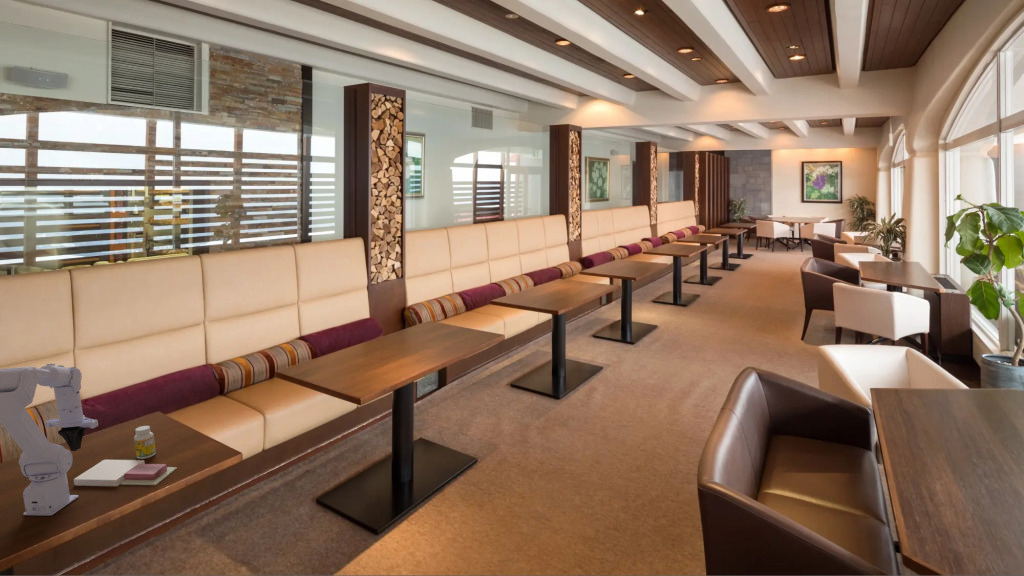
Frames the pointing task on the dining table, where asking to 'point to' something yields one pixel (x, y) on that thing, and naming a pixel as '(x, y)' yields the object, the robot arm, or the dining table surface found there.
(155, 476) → the tile
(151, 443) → the supplement bottle
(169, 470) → the mat
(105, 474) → the white flat block
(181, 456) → the dining table surface
